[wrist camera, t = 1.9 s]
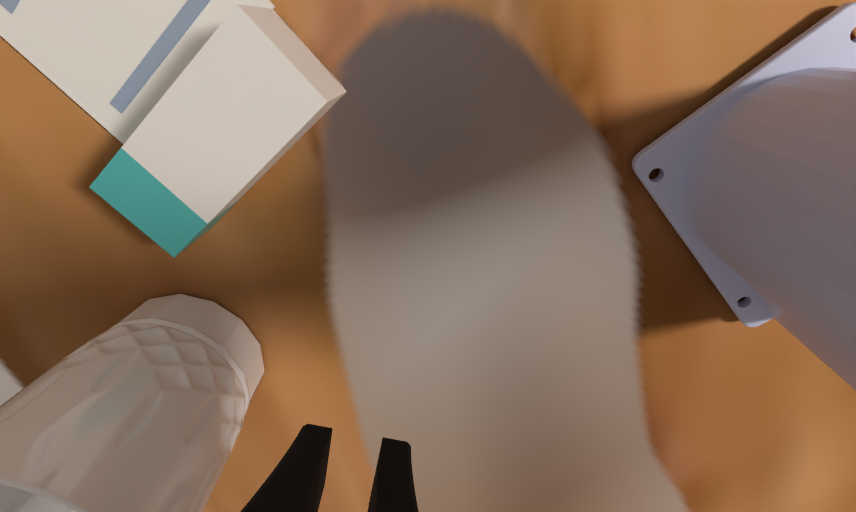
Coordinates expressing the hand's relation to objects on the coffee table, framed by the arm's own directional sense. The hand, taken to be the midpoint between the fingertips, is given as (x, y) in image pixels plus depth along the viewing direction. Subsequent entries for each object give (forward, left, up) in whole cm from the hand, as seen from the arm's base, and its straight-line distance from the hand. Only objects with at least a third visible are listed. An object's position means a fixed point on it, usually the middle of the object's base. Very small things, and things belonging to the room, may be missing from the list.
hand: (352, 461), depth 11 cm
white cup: (+3, +10, -10) cm, 14 cm away
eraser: (+8, 0, -10) cm, 13 cm away
